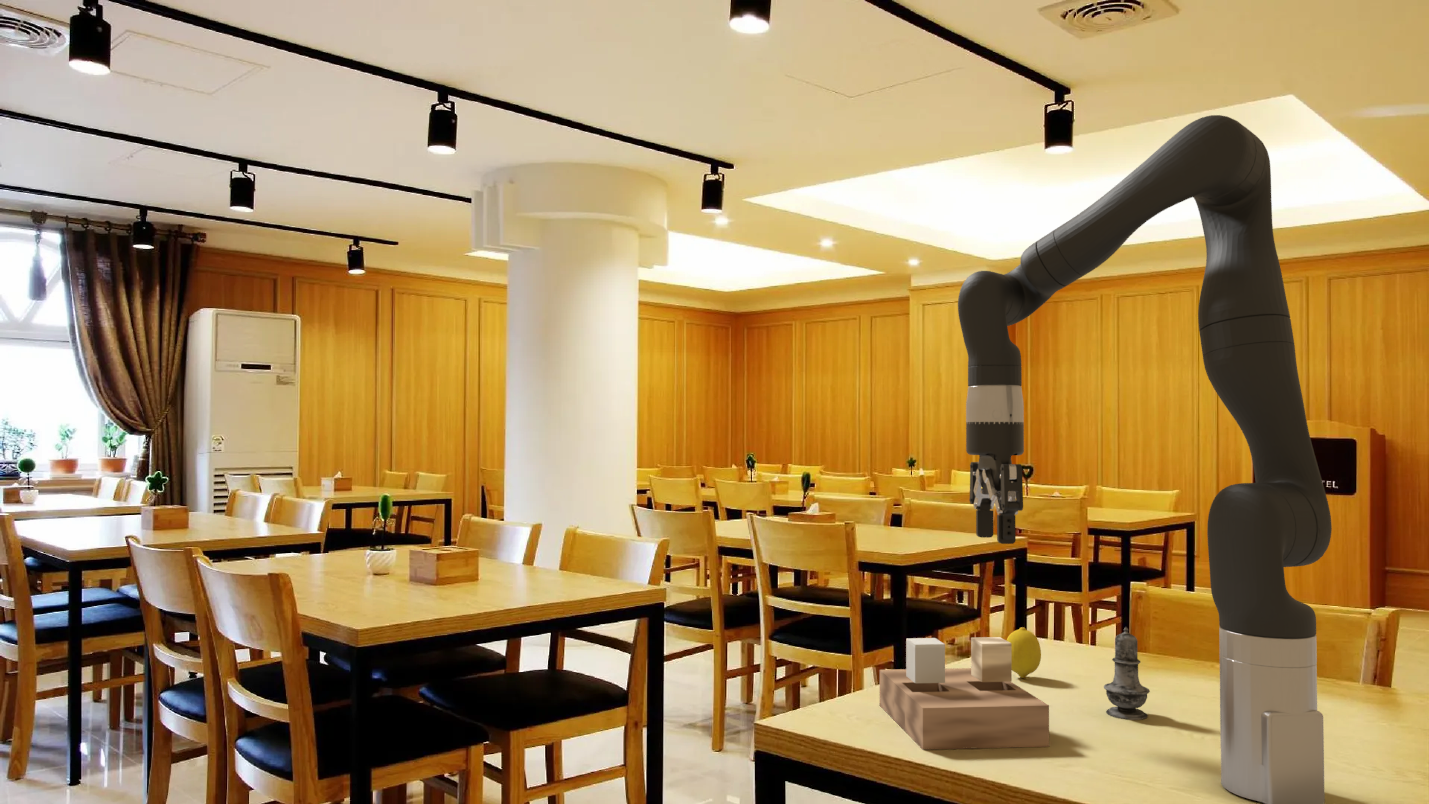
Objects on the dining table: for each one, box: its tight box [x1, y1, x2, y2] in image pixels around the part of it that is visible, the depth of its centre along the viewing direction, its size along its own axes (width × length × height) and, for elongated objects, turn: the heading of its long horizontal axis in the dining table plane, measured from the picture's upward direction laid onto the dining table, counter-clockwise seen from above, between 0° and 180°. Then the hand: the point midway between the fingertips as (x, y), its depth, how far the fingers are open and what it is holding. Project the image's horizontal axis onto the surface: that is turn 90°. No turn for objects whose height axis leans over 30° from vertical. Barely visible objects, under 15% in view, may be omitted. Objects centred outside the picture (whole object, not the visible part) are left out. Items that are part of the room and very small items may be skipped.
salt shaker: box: [1103, 626, 1151, 721], centre depth 137 cm, size 6×6×12 cm
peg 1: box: [905, 637, 946, 683], centre depth 131 cm, size 4×4×5 cm
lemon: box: [1005, 626, 1042, 679], centre depth 157 cm, size 6×6×8 cm
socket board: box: [879, 667, 1050, 750], centre depth 132 cm, size 20×16×5 cm
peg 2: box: [970, 636, 1013, 683], centre depth 132 cm, size 4×4×5 cm
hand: (995, 540), depth 134 cm, fingers open, 8 cm apart
